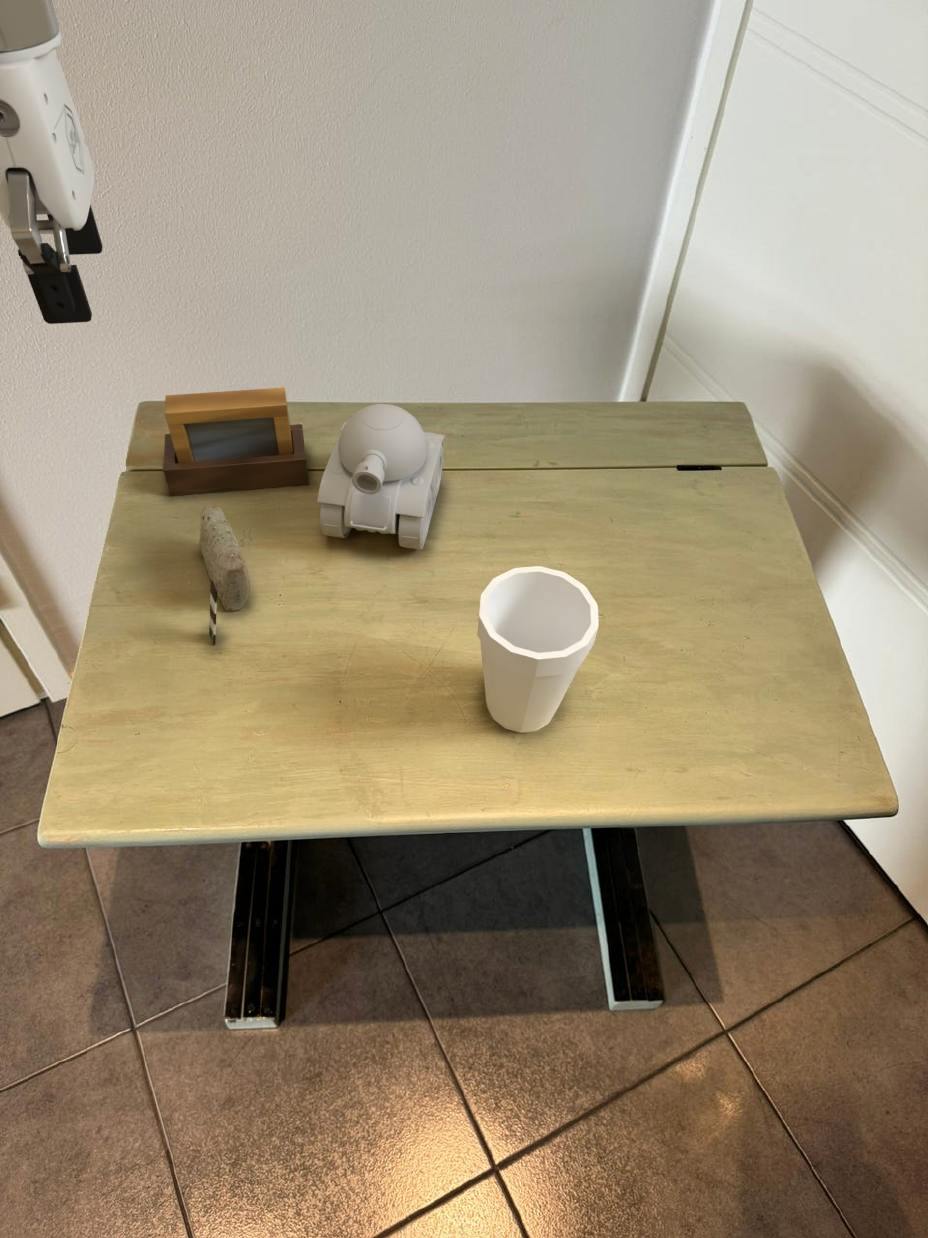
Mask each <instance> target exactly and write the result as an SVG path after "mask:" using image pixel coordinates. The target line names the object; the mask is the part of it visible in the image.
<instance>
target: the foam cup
mask: <svg viewBox="0 0 928 1238" xmlns="http://www.w3.org/2000/svg"><path fill="white" fill-rule="evenodd" d="M477 618H478V619H477V631H476V632H477V634H476V635H477V637H478V639H479V642H480V652H481V662H482V663H481V664H482V672H483V673H482V674H483V681H484V682H483V683H484V691H485V692H484V694H485V703H486V708H487V710H488V712H489V714H490V716H491V718H492V720H493V721H495V722H496V723H498V724H499V725H500V726H501V727H503V728H504V729H506V730H509V731H512V732H516V733H520V734H522V733H532V732H537V731H539V730H541V729H542V728H544V727H546V726H548V725H549V724H550V722H551V721H552V719H553V717H554V716H555V714H556V713H557V710H558V709H559V707H560V705H561V703H562V701H563V700H564V697H565V695H566V693H567V691H568V689H569V688H570V686H571V684H572V682H573V679H574V677H575V676H576V674H577V672H578V670H579V668H580V666H581V665H582V664H583V663H584V661H585V659H586V658H587V657H588V655H589V653H590V651H591V650H592V648H593V646H594V645H595V641H596V637H597V633H598V631H599V626H600V625H599V623H600V622H599V605H598V603H597V601H596V600H595V598H594V597H593V596H592V594H591V592H590V591H589V589H588V588H587V587H586V585H585V584H583V583H581V582H580V581H579V580H577V579H575V578H574V577H572V575H570V574H568V573H566V572H565V571H561V570H558V569H554V568H549V567H545V566H542V565H534V566H524V567H522V566H521V567H513V568H512V569H510V570H508V571H505V572H503V573H501V574H500V575H497V576H494V577H493V578H492V579H491V581H490V582H489V583H488V584H487V586H486V588H485V589H484V590H483V592H482V593H481V594H480V597H479V607H478V617H477Z"/></svg>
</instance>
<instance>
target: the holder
mask: <svg viewBox="0 0 928 1238" xmlns="http://www.w3.org/2000/svg"><path fill="white" fill-rule="evenodd" d="M290 429H291V436H292V443H293V451H294V454H288V455H276V456H263V457H251V458H238V459H226V460H213V461H201V462H188V463H178V460H177V457H176V453H175V449H174V446H173V442H172V438H171V435H170V433H165V434H164V447H163V463H162V472H163V476H164V479H165V482H166V486H167V488H168V492H169V495H170V497H175V496H188V495H200V494H211V493H222V492H234V491H243V490H245V491H246V490H255V489H268V488H269V489H270V488H279V487H281V488H282V487H290V486H291V487H292V486H293V487H294V486H305V485H309V484H310V481H309V480H310V479H309V473H308V471H309V470H308V462H307V454H306V445H305V436H304V427H303V424H302V423H299V424H298V423H297V424H290Z"/></svg>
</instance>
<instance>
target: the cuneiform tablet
mask: <svg viewBox="0 0 928 1238" xmlns="http://www.w3.org/2000/svg"><path fill="white" fill-rule="evenodd" d="M199 531H200V532H199V540H198V544H199V546H198V547H199V550H200V553H201V555H202V557H203V562H204V566H205V568H206V571H207V574H208V576H209V578H210V587H209V589H210V590H209V591H210V592H209V596H210V597H209V622H208V623H209V624H208V625H209V628H208V629H209V630H208V635H209V637H210V640H211V642H212V645H213V646H216V636H217V635H216V634H217V631H216V630H217V609H218V607H217V606H218V605H217V603H218V598H219V600H220V603H221V605H222V606H223V607H224V609H225V610H226V611H228V612H234V611H240V610H242V609H243V608H244V606H245V605H246V603H247V601H248V598H249V596H250V588H251V587H250V581H251V580H250V578H249V570H248V568H247V565H246V561H245V558H244V555H243V552H242V548H241V545H240V543H239V541H238V538H237V537H236V535H235V532H234V530H233V529H232V527H231V524H230V523H229V521H228V520H227V518H226V514H225V513H224V512H223V510H222V509H221V508H220V507H218V506H214V507H211V506H208V505H207V506H205V507H203V509H202V511H201V514H200V529H199Z"/></svg>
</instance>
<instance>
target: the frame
mask: <svg viewBox="0 0 928 1238" xmlns="http://www.w3.org/2000/svg"><path fill="white" fill-rule="evenodd" d="M164 398H165V400H164V416H165V420H166V423H167V427H168V431H169V434H170V435H171V438H172V442H173V446H174V449H175V453H176V457H177V460H178V463H188V462H201V461H213V460H226V459H238V458H251V457H263V456H276V455H288V454H294V451H293V443H292V436H291V429H290V425H291V421H290V414H289V407H288V400H287V393H286V387H271V388H270V387H269V388H255V389H254V388H253V389H239V390H227V391H212V392H211V391H210V392H195V393H182V394H180V393H179V394H167V395H165V397H164Z"/></svg>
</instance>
